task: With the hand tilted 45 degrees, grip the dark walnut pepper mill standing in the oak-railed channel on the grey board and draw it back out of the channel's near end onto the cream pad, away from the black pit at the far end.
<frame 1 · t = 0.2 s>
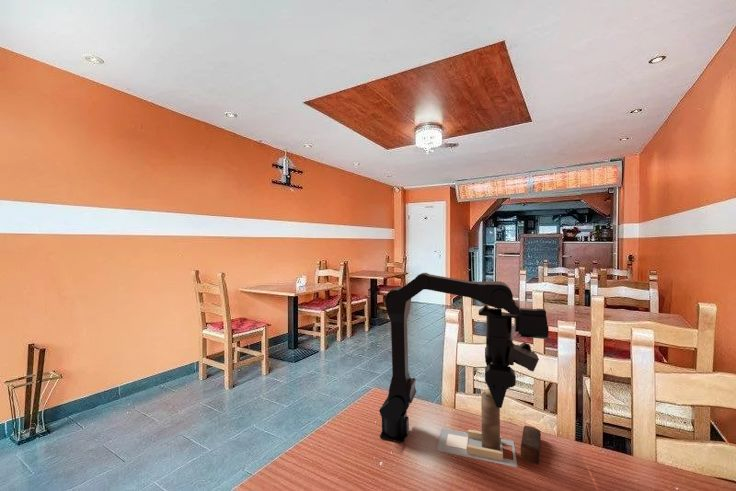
hand: (498, 398, 78), 14 cm above the table, tool pointing down, fingers open, 9 cm apart
pepper mill: (490, 448, 79), point 1 cm above the table, touching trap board
brick: (531, 455, 79), on the table
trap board: (475, 450, 80), on the table
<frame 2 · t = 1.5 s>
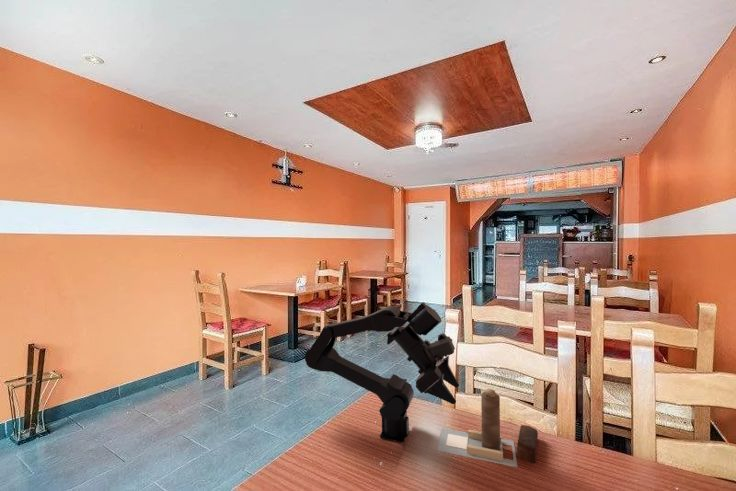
hand: (456, 394, 81), 13 cm above the table, tool tilted 45°, fingers open, 9 cm apart
nothing on the table moved.
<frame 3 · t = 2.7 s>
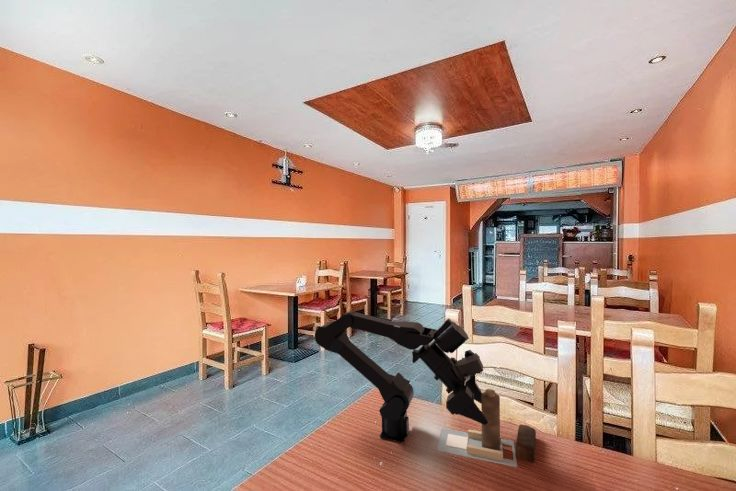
hand: (486, 413, 79), 10 cm above the table, tool tilted 45°, fingers open, 9 cm apart
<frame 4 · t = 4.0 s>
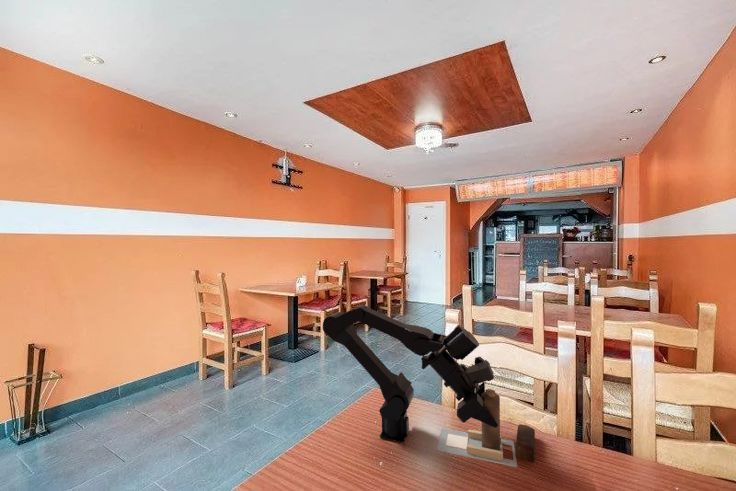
hand: (496, 421, 78), 8 cm above the table, tool tilted 45°, fingers closed on pepper mill, 4 cm apart
pepper mill: (490, 448, 79), point 1 cm above the table, touching gripper, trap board
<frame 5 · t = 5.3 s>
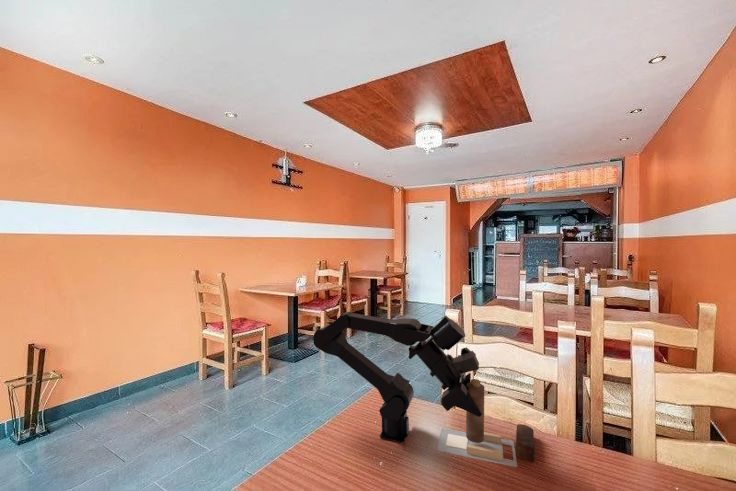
hand: (481, 410, 79), 10 cm above the table, tool tilted 45°, fingers closed on pepper mill, 4 cm apart
pepper mill: (474, 437, 80), point 3 cm above the table, touching gripper
when the fingers open (9 cm above the table, at t = 6.6 s): pepper mill stays where it is, resting on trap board.
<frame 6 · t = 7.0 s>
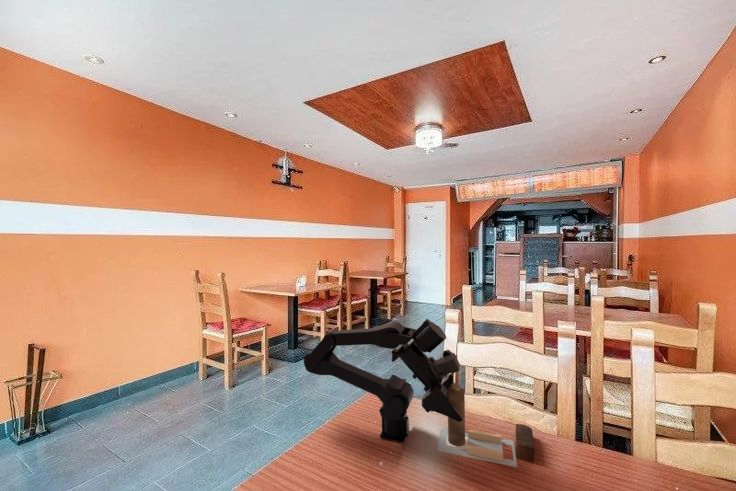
hand: (462, 411, 81), 9 cm above the table, tool tilted 45°, fingers open, 8 cm apart
pepper mill: (456, 440, 82), point 1 cm above the table, touching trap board
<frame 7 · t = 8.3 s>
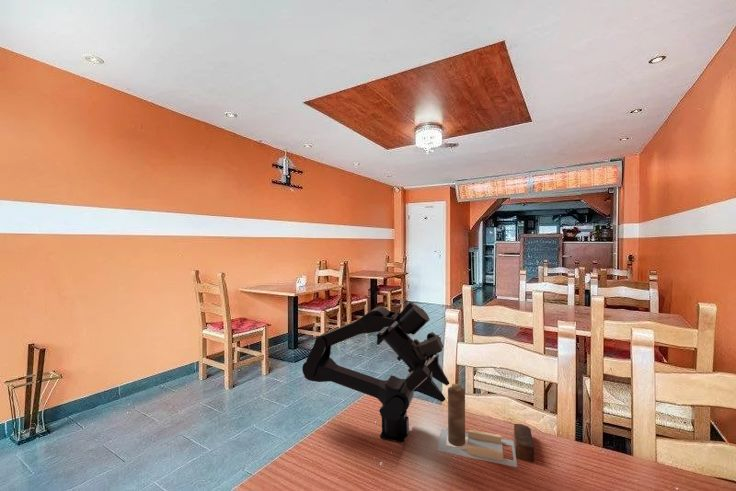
hand: (446, 392, 82), 14 cm above the table, tool tilted 45°, fingers open, 9 cm apart
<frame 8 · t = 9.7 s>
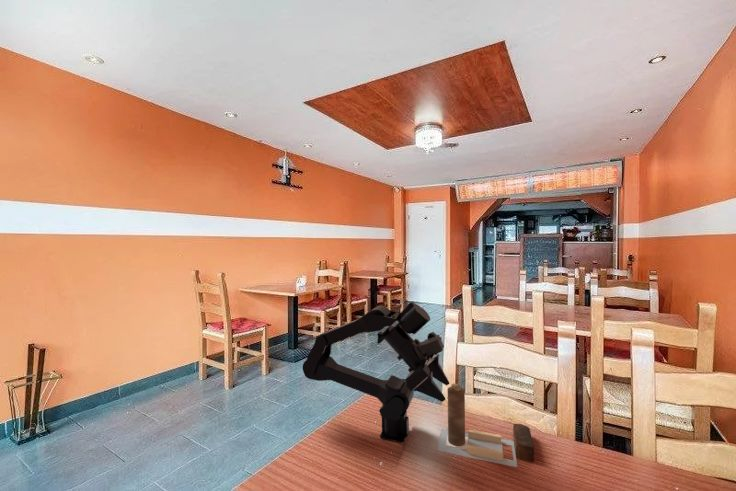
hand: (446, 392, 82), 14 cm above the table, tool tilted 45°, fingers open, 9 cm apart
at the end: pepper mill 0.1 cm from the target spot, point 1.4 cm above the table; pepper mill tilted 0°; the gripper is holding nothing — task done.
